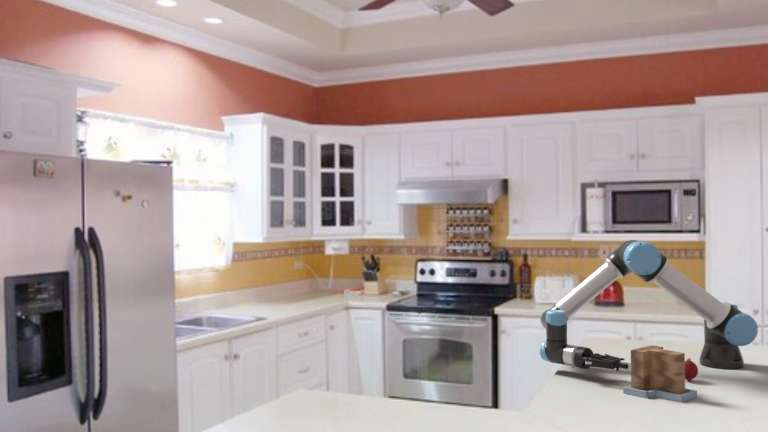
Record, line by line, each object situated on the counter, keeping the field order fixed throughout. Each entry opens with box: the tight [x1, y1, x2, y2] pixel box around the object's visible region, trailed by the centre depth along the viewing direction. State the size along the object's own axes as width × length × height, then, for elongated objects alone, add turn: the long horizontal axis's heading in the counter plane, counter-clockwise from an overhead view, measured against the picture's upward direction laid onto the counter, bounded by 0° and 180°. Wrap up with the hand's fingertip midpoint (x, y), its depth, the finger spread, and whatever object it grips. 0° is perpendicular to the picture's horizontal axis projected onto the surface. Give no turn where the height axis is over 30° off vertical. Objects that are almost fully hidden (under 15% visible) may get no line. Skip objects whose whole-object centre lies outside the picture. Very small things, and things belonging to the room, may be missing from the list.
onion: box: [685, 357, 699, 382], centre depth 246 cm, size 6×6×8 cm
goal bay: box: [622, 386, 698, 403], centre depth 229 cm, size 18×17×2 cm
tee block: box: [630, 345, 686, 395], centre depth 230 cm, size 14×12×14 cm
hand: (638, 367), depth 236 cm, fingers closed
